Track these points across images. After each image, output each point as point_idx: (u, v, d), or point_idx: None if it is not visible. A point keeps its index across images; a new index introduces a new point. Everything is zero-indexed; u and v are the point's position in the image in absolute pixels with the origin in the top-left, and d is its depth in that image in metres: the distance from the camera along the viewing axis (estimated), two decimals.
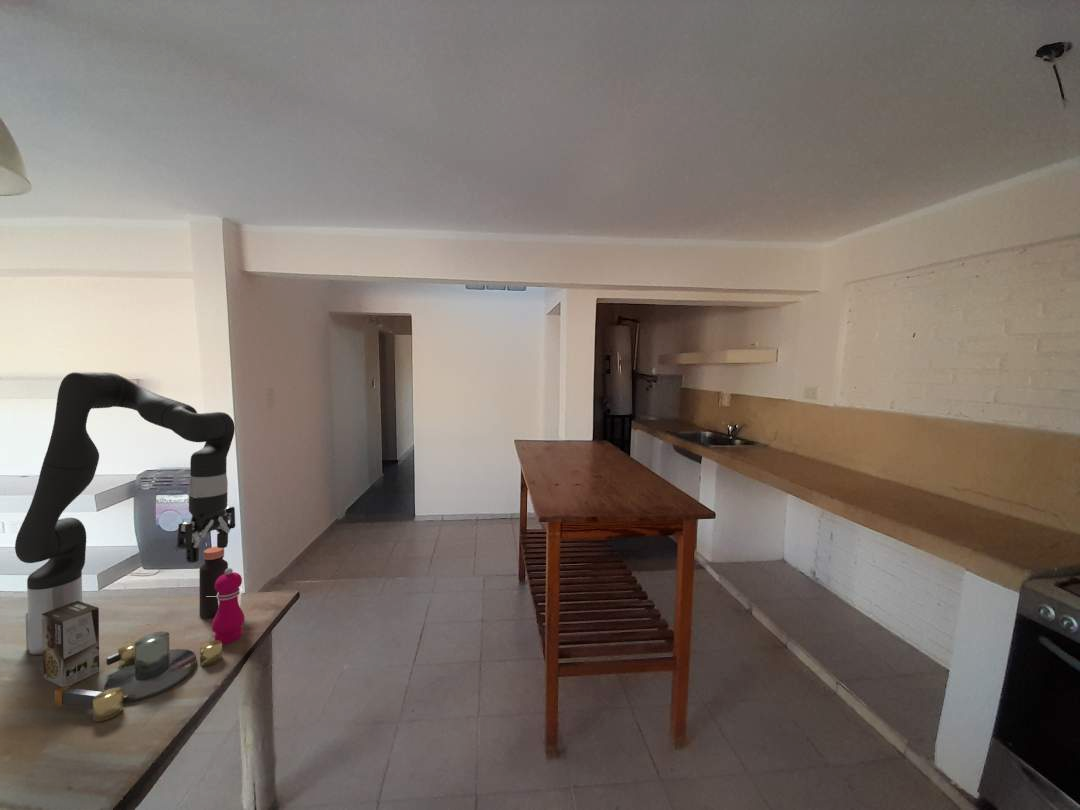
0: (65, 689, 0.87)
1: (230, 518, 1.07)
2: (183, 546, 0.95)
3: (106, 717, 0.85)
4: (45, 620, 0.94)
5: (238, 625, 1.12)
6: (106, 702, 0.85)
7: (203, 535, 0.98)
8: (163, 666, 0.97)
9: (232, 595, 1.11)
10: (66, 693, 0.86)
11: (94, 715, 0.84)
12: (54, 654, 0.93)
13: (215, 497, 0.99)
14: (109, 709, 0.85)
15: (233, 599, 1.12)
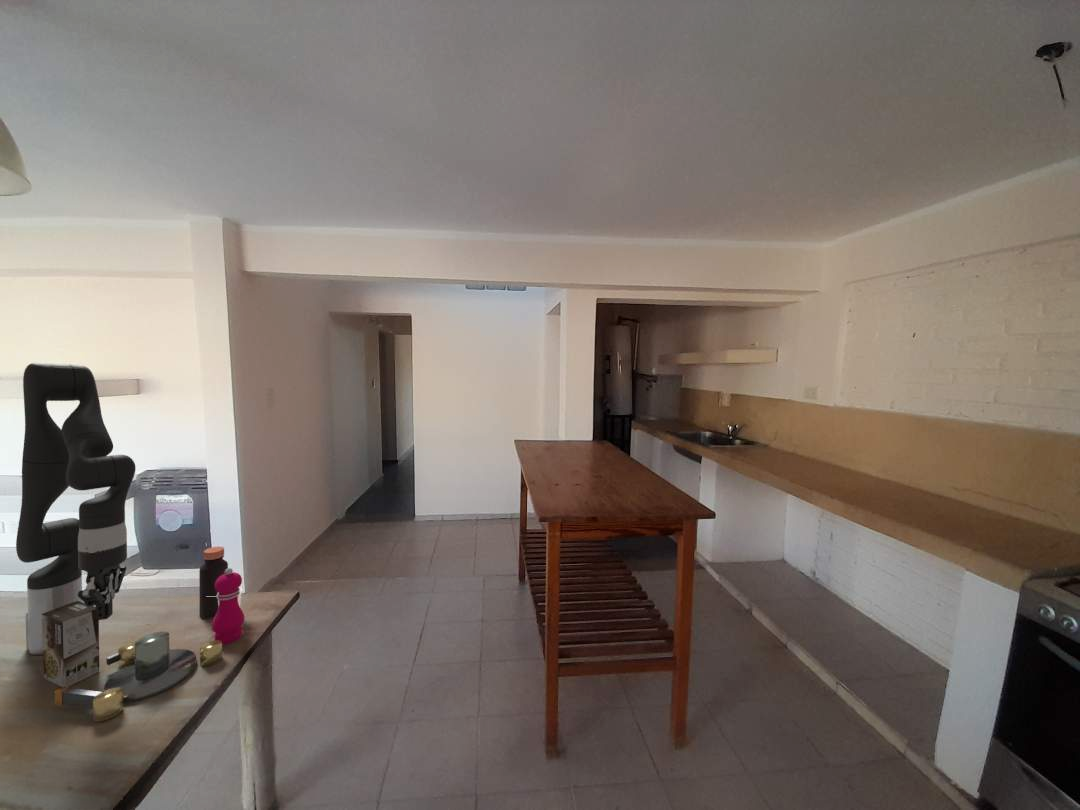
0: (65, 689, 0.87)
1: (118, 579, 0.95)
2: (96, 603, 0.89)
3: (106, 717, 0.85)
4: (45, 620, 0.94)
5: (238, 625, 1.12)
6: (106, 702, 0.85)
7: (110, 590, 0.91)
8: (163, 666, 0.97)
9: (232, 595, 1.11)
10: (66, 693, 0.86)
11: (94, 715, 0.84)
12: (54, 654, 0.93)
13: (117, 548, 0.91)
14: (109, 709, 0.85)
15: (233, 599, 1.12)
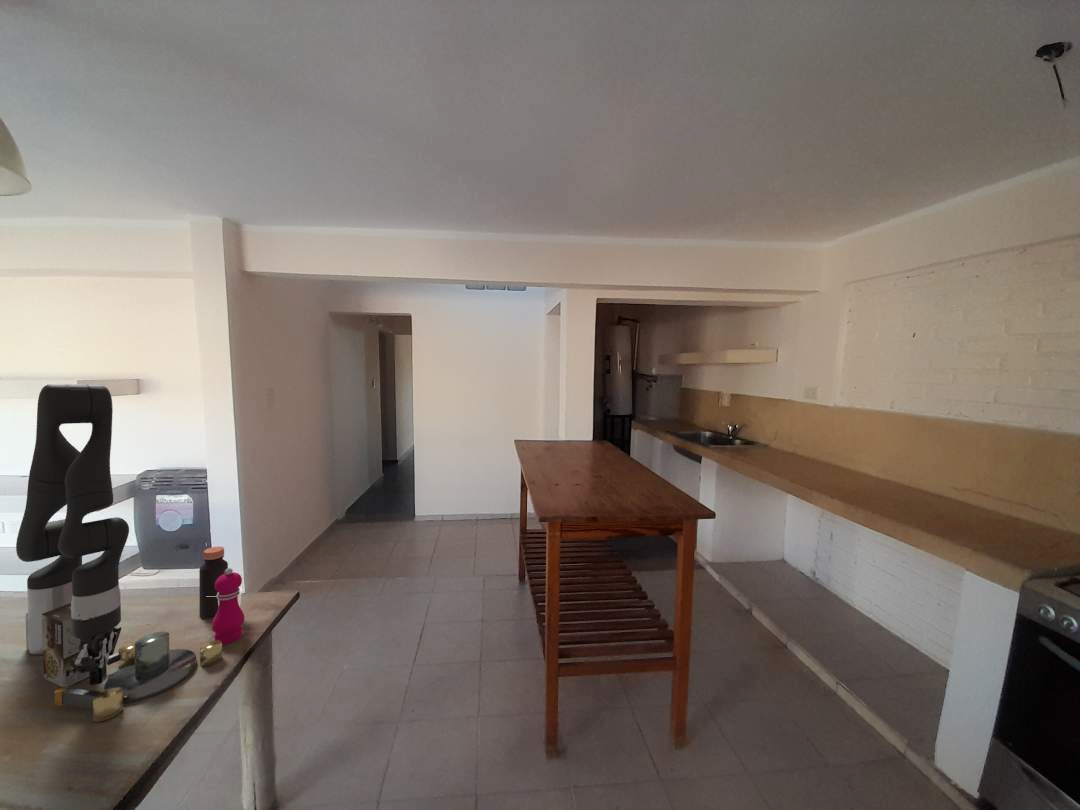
0: (65, 689, 0.87)
1: (113, 640, 0.95)
2: (89, 670, 0.88)
3: (106, 717, 0.85)
4: (45, 619, 0.94)
5: (238, 625, 1.12)
6: (106, 702, 0.85)
7: (104, 654, 0.91)
8: (163, 666, 0.97)
9: (232, 595, 1.11)
10: (66, 693, 0.86)
11: (94, 715, 0.84)
12: (54, 654, 0.93)
13: (110, 613, 0.90)
14: (109, 709, 0.85)
15: (233, 599, 1.12)
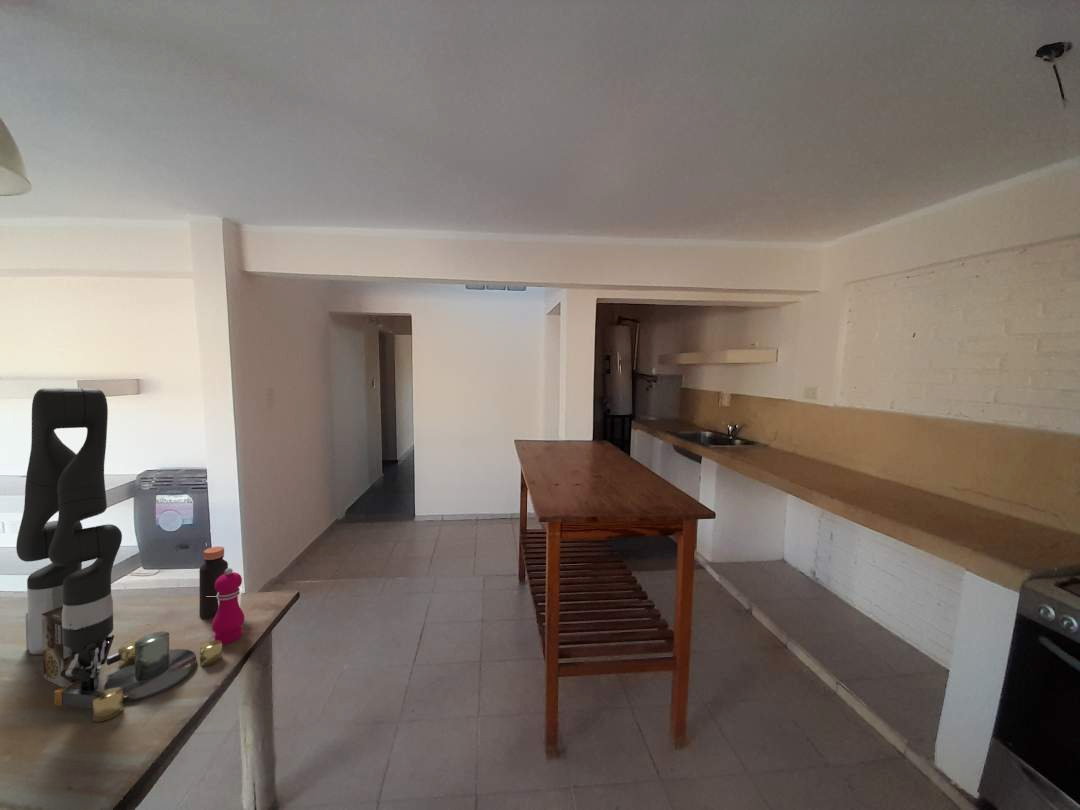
0: (65, 689, 0.87)
1: (105, 649, 0.93)
2: (80, 680, 0.87)
3: (106, 717, 0.85)
4: (45, 620, 0.94)
5: (238, 625, 1.12)
6: (106, 702, 0.85)
7: (96, 664, 0.89)
8: (163, 666, 0.97)
9: (232, 595, 1.11)
10: (66, 693, 0.86)
11: (94, 715, 0.84)
12: (54, 654, 0.93)
13: (102, 622, 0.88)
14: (109, 709, 0.85)
15: (233, 599, 1.12)
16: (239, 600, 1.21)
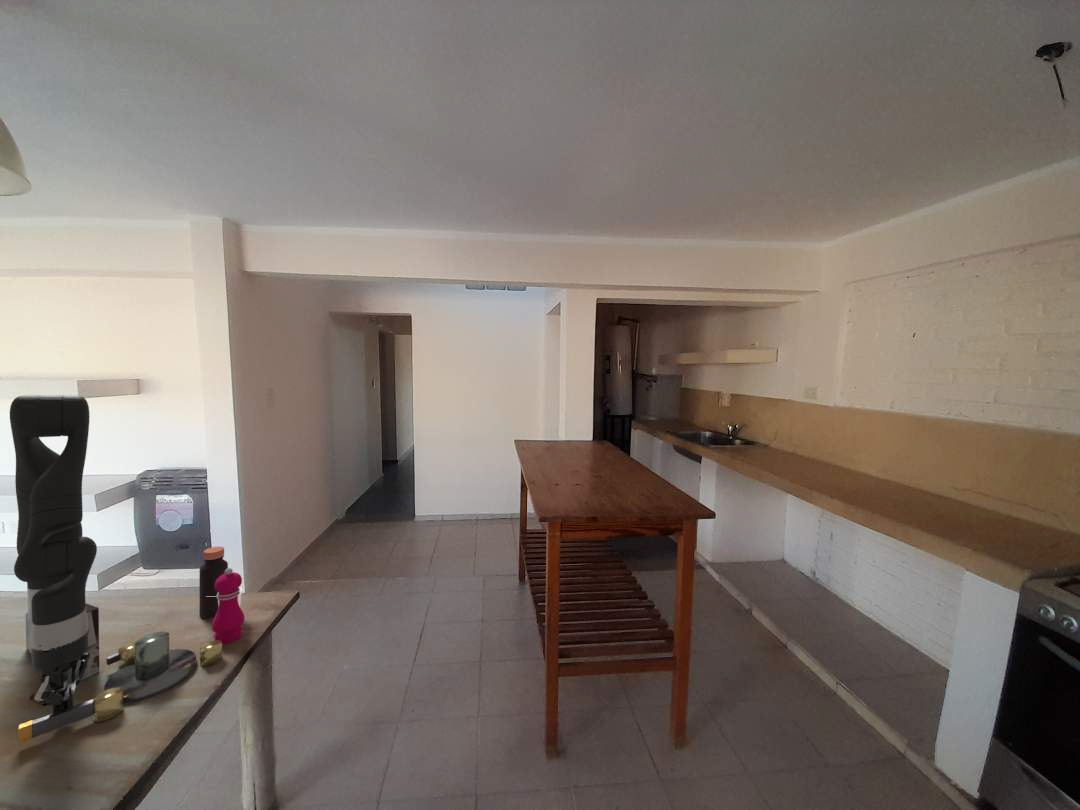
0: (31, 722, 0.79)
1: (80, 668, 0.87)
2: (52, 703, 0.80)
3: (118, 710, 0.87)
4: None
5: (238, 625, 1.12)
6: (118, 696, 0.86)
7: (69, 685, 0.83)
8: (163, 666, 0.97)
9: (232, 595, 1.11)
10: (40, 722, 0.79)
11: (104, 715, 0.85)
12: None
13: (76, 641, 0.82)
14: (120, 702, 0.87)
15: (233, 599, 1.12)
16: (239, 600, 1.21)
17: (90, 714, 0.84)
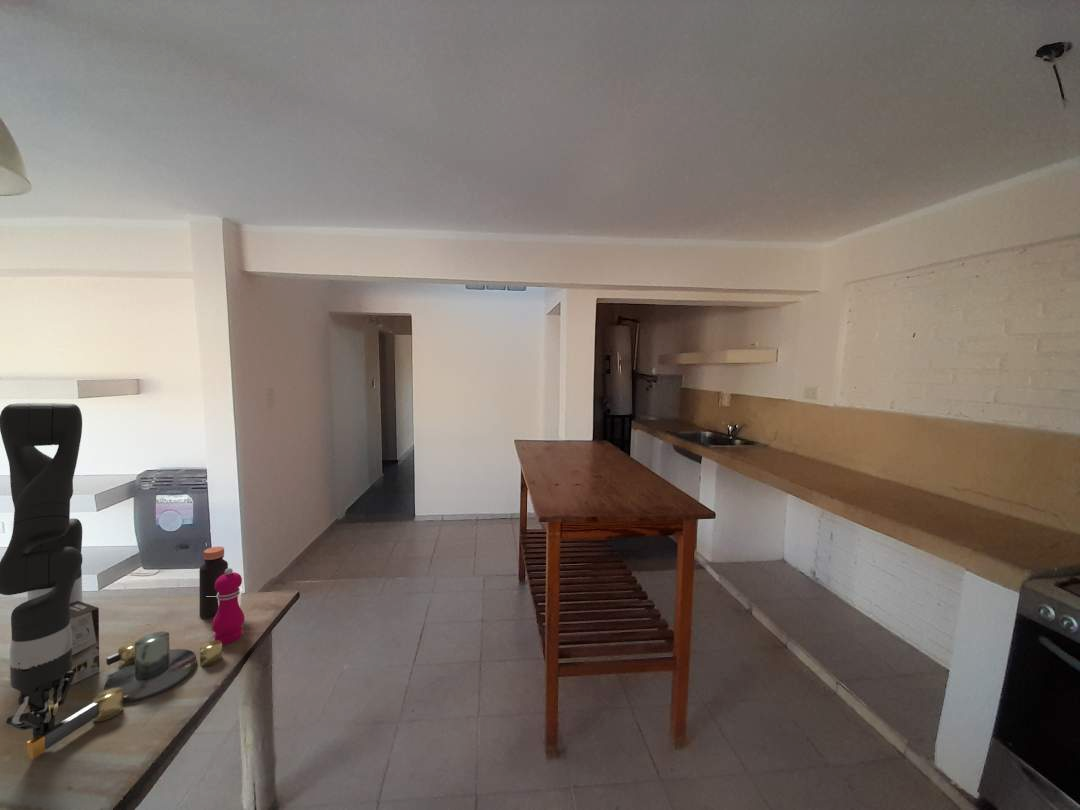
0: (40, 736, 0.76)
1: (64, 687, 0.82)
2: (31, 726, 0.75)
3: (122, 706, 0.88)
4: None
5: (238, 625, 1.12)
6: (122, 691, 0.88)
7: (51, 706, 0.78)
8: (163, 666, 0.97)
9: (232, 595, 1.11)
10: (51, 732, 0.77)
11: (113, 711, 0.86)
12: None
13: (58, 659, 0.77)
14: (122, 698, 0.88)
15: (233, 599, 1.12)
16: (239, 600, 1.21)
17: (95, 716, 0.84)
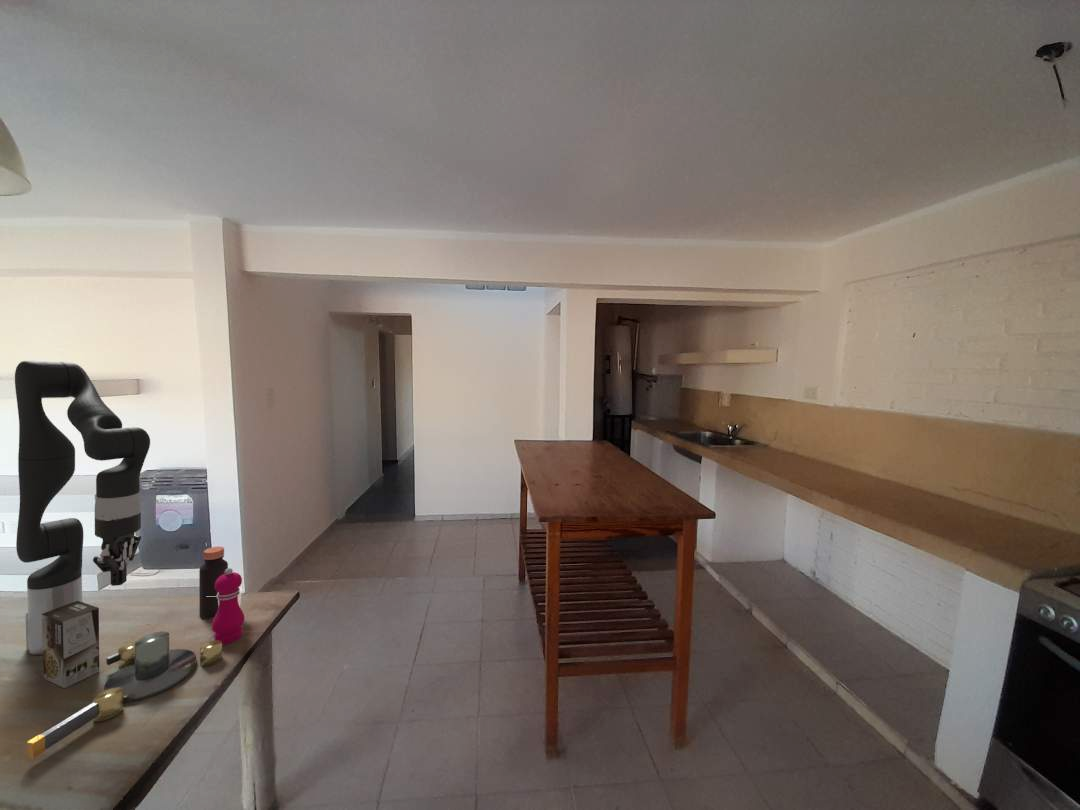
0: (40, 736, 0.76)
1: (133, 547, 0.99)
2: (110, 569, 0.92)
3: (122, 706, 0.88)
4: (45, 619, 0.94)
5: (238, 625, 1.12)
6: (122, 691, 0.88)
7: (124, 557, 0.95)
8: (163, 666, 0.97)
9: (232, 595, 1.11)
10: (51, 732, 0.77)
11: (113, 711, 0.86)
12: (54, 654, 0.93)
13: (131, 517, 0.94)
14: (122, 698, 0.88)
15: (233, 599, 1.12)
16: (239, 600, 1.21)
17: (95, 716, 0.84)
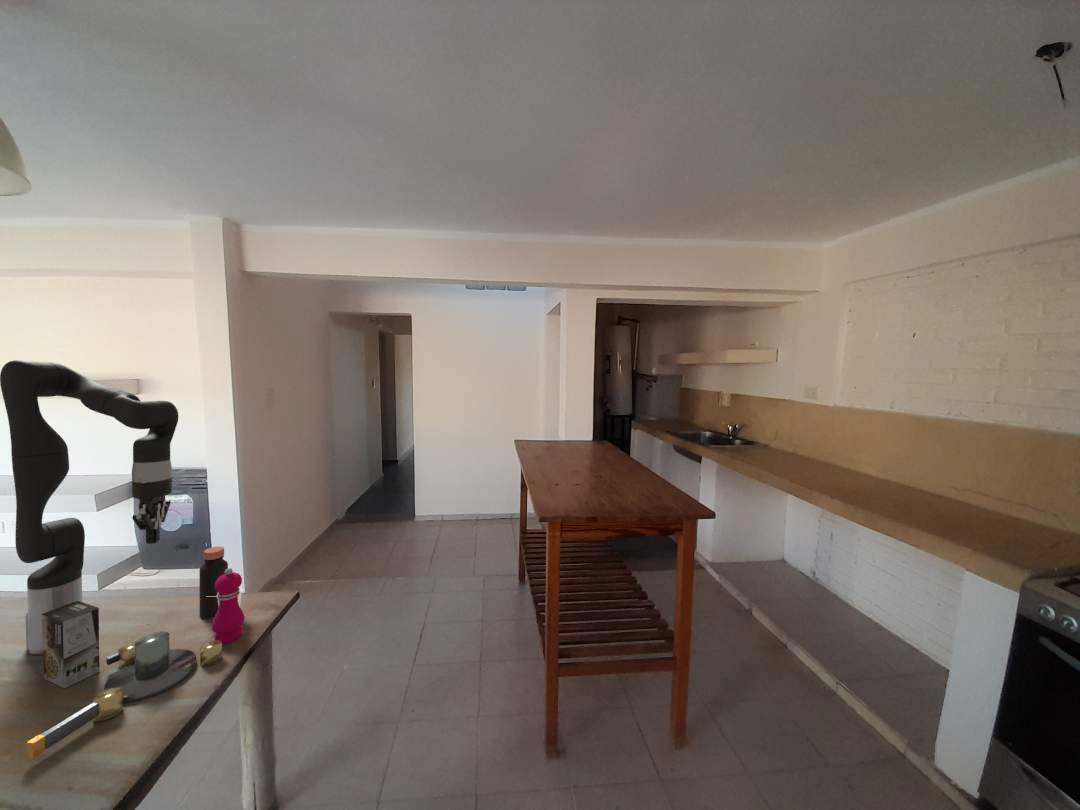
0: (40, 736, 0.76)
1: (164, 510, 1.09)
2: (147, 527, 1.02)
3: (122, 706, 0.88)
4: (45, 620, 0.94)
5: (238, 625, 1.12)
6: (122, 691, 0.88)
7: (158, 517, 1.05)
8: (163, 666, 0.97)
9: (232, 595, 1.11)
10: (51, 732, 0.77)
11: (113, 711, 0.86)
12: (54, 654, 0.93)
13: (164, 481, 1.04)
14: (122, 698, 0.88)
15: (233, 599, 1.12)
16: (239, 600, 1.21)
17: (95, 716, 0.84)
